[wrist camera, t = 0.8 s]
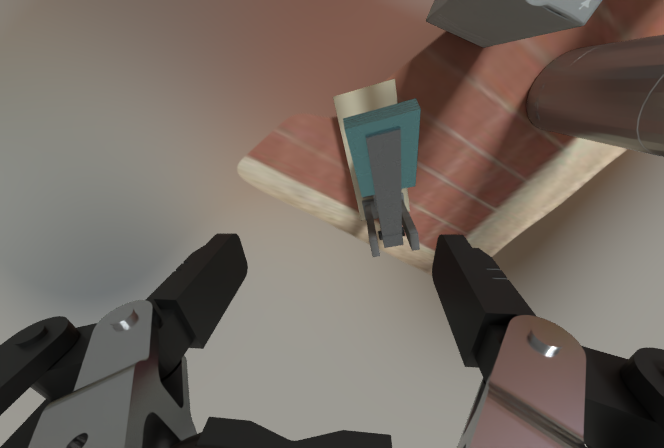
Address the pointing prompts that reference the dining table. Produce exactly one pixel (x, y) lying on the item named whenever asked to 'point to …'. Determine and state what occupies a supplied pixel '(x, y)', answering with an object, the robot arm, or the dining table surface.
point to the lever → (385, 160)
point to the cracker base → (345, 108)
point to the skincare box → (508, 18)
